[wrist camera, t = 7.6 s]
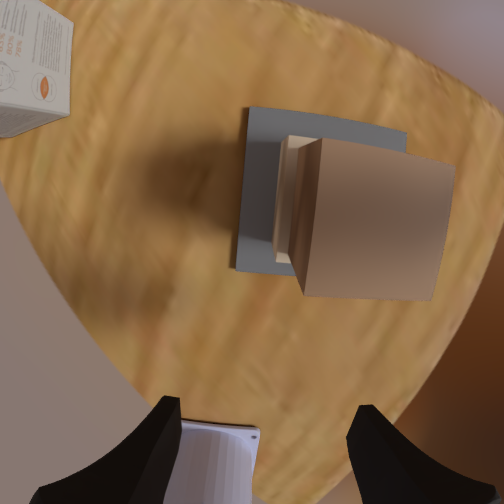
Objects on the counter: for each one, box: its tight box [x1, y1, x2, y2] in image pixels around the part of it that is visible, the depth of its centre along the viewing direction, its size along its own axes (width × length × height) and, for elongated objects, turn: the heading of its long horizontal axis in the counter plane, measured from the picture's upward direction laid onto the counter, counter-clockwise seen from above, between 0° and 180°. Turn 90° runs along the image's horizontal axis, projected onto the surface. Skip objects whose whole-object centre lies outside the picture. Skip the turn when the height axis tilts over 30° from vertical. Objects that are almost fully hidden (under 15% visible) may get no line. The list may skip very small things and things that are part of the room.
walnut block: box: [288, 138, 456, 301], centre depth 12 cm, size 5×5×5 cm
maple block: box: [271, 135, 318, 263], centre depth 16 cm, size 6×6×4 cm
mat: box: [236, 107, 407, 276], centre depth 18 cm, size 10×10×1 cm
